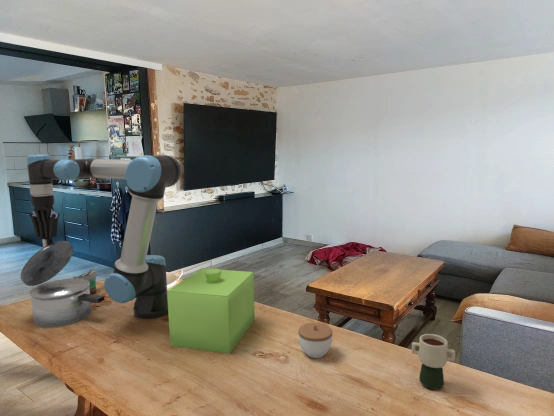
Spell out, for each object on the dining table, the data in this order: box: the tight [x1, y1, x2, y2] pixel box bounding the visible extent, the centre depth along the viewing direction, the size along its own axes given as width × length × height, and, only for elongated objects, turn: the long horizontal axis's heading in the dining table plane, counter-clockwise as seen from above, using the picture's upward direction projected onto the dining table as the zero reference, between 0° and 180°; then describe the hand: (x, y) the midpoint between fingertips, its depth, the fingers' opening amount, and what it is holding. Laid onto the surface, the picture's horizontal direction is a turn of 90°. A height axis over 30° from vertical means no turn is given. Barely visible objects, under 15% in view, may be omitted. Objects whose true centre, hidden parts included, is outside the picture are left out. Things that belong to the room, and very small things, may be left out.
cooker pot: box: [29, 277, 105, 328], centre depth 151 cm, size 31×21×12 cm
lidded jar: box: [298, 322, 333, 359], centre depth 122 cm, size 11×11×9 cm
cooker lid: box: [20, 240, 74, 287], centre depth 152 cm, size 21×21×4 cm
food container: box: [72, 268, 98, 295], centre depth 176 cm, size 12×6×10 cm, turn 168°
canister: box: [167, 267, 256, 355], centre depth 136 cm, size 25×21×23 cm
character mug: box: [411, 333, 456, 390], centre depth 105 cm, size 11×7×13 cm, turn 64°
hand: (48, 254), depth 151 cm, fingers closed
